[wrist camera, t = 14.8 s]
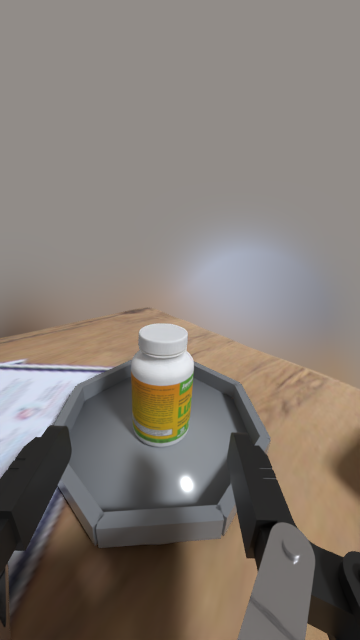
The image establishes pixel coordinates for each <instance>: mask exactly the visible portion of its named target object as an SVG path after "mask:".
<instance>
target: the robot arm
mask: <svg viewBox="0 0 360 640" xmlns="http://www.w3.org/2000/svg"><path fill="white" fill-rule="evenodd" d="M71 453H72V447H71V441H70V435H69V430H68V427H67V426H55V425H51V426H49V427H48V428H47V429H46V431H45V432H44V434H43V435H42V436H41V437H35V438H34V439H33V440H32V441H31V442H29V443H28V444H27V445H26V446H24V448H23V449H22V450H21V452H20V453H19V454H18V456H17V457H16V459H15V461H13V462H12V464H11V465H10V466H9V468H8V470H6V472H5V473H4V474H3V476H2V477H1V478H0V640H11V633H10V613H9V578H8V561H9V559H10V558H11V556H12V554H13V552H14V550H16V551H25V550H26V548H27V546H28V544H29V542H30V540H31V538H32V536H33V534H34V532H35V530H36V528H37V526H38V524H39V522H40V520H41V518H42V516H43V514H44V512H45V510H46V508H47V506H48V504H49V502H50V500H51V498H52V496H53V494H54V492H55V490H56V488H57V486H58V484H59V481H60V479H61V477H62V475H63V473H64V471H65V469H66V467H67V465H68V463H69V461H70V458H71ZM227 463H228V470H229V475H230V480H231V485H232V490H233V495H234V499H235V504H236V509H237V514H238V519H239V524H240V529H241V533H242V538H243V543H244V548H245V553H246V558H255V561H256V565H257V570H258V574H257V577H256V580H255V584H254V587H253V590H252V593H251V597H250V600H249V603H248V606H247V610H246V613H245V616H244V619H243V623H242V626H241V629H240V632H239V636H238V639H237V640H305V635H306V628H307V623H308V624H310V625H312V626H314V627H316V628H318V629H320V630H321V631H323V632H325V633H327V635H328V638H329V640H360V552H356V551H351V552H348V553H347V554H346V555H345V556H344V557H341V556H339V555H337V554H334V553H332V552H329V551H327V550H325V549H322V548H320V547H318V546H316V545H314V544H313V543H311V542H310V541H309V540H308V539H307V538H306V537H305V535H304V534H303V533H302V532H301V531H300V530H299V529H298V528H297V526H296V525H295V523H294V521H293V519H292V516H291V514H290V511H289V509H288V506H287V504H286V501H285V499H284V496H283V493H282V491H281V488H280V486H279V483H278V481H277V480H276V476H275V473H274V471H273V470H272V466H271V463H270V461H269V458H268V456H267V455H266V453H265V452H264V451H263V450H262V448H261V447H260V446H259V445H252V444H251V441H250V438H249V435H248V434H247V433H238V432H232V433H231V436H230V442H229V448H228V454H227Z"/></svg>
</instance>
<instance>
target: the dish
mask: <svg viewBox="0 0 360 640" xmlns="http://www.w3.org/2000/svg"><path fill="white" fill-rule="evenodd" d="M131 362H132V360H130V361H128V362H125V363H123V364H121V365H119V366H117V367H115V368H112V369H110V370H108V371H106V372H104V373H101V374H99V375H97V376H95V377H93V378H91V379H88V380H86V381H84V382H82V383H80V384H78V385H77V386H75V388H74V390H73V392H72V393H71V395H70V397H69V399H68V400H67V402H66V404H65V406H64V408H63V409H62V411H61V413H60V415H59V416H58V418H57V420H56V422H55V423H54V425H55V426H67V427H68V430H69V435H70V441H71V447H72V453H71V458H70V461H69V463H68V465H67V467H66V469H65V471H64V473H63V475H62V477H61V479H60V481H59V484H58V487H59V489H60V490H61V492H62V493H63V495H64V497H65V498H66V500H67V501H68V503H69V505H70V506H71V508H72V510H73V511H74V513H75V514H76V516H77V518H78V519H79V521H80V523H81V524H82V526H83V527H84V529H85V531H86V532H87V534H88V536H89V537H90V539H91V540H92V542H93V544H94V545H95V546H96V545H97V544H98V547H99V548H106V547H119V546H132V545H162V544H168V543H175V542H183V541H196V540H209V539H221V534H222V535H223V536H224V535H225V533H226V531H227V529H228V527H229V526H230V524H231V522H232V520H233V518H234V516H235V514H236V512H237V509H236V504H235V499H234V495H233V490H232V485H231V480H230V475H229V470H228V463H227V454H228V448H229V442H230V436H231V433H232V432H238V433H247V434H248V435H249V438H250V441H251V444H252V445H259V446H260V447H261V448H262V450H263V451H264V452H265V453H266V455H267V452H268V449H269V445H270V441H271V440H270V436H269V434H268V432H267V431H266V429H265V427H264V425H263V423H262V421H261V420H260V418H259V416H258V414H257V412H256V410H255V408H254V407H253V405H252V403H251V401H250V399H249V397H248V396H247V394H246V392H245V390H244V388H243V386H242V384H240V382H237V381H235V380H233V379H231V378H229V377H227V376H224V375H222V374H220V373H218V372H216V371H214V370H212V369H209V368H207V367H205V366H203V365H201V364H199V363H196V362H194V374H193V387H192V399H191V412H190V424H189V429H188V431H187V434H186V435H185V436H184V438H183V439H182V440H180V441H179V442H177V443H176V444H173V445H170V446H166V447H154V446H150V445H147V444H145V443H143V442H142V441H141V440H140V439H139V438H138V437H137V436H136V434H135V432H134V429H133V418H132V384H131ZM231 397H232V398H233V399H232V398H231ZM85 400H86V401H85ZM84 401H85V402H84Z"/></svg>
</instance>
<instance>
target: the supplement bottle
mask: <svg viewBox="0 0 360 640" xmlns="http://www.w3.org/2000/svg"><path fill="white" fill-rule="evenodd" d="M187 338H188V333H187V331H186V330H185V329H184V328H182V327H180V326H177V325H173V324H151V325H147V326H145V327H143V328H141V329H140V331H139V344H138V345H139V349H140V350H139V351H138V352H137V353H136V354H135V355H134V357H133V359H132V362H131V384H132V418H133V429H134V432H135V434H136V436H137V437H138V438H139V439H140V440H141V441H142V442H143V443H145V444H147V445H150V446H154V447H166V446H170V445H173V444H176V443H177V442H179V441H180V440H182V439H183V438H184V436H185V435H186V434H187V431H188V429H189V424H190V412H191V399H192V387H193V374H194V361H193V358H192V356H191V355H190V354H189V353H188V352H187V351H186V350H187Z"/></svg>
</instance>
